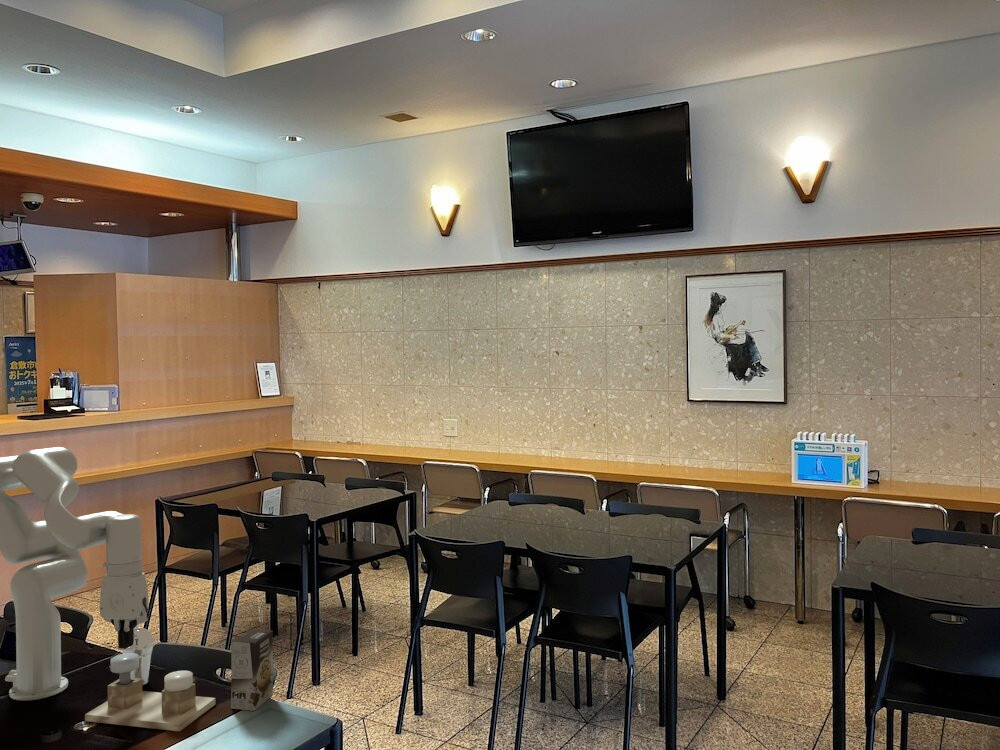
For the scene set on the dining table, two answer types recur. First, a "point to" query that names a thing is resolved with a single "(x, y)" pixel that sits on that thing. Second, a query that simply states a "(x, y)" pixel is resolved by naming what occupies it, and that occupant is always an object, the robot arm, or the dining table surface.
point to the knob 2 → (178, 680)
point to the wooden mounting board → (150, 707)
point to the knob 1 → (124, 666)
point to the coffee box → (251, 669)
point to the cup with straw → (142, 652)
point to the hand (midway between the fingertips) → (126, 646)
